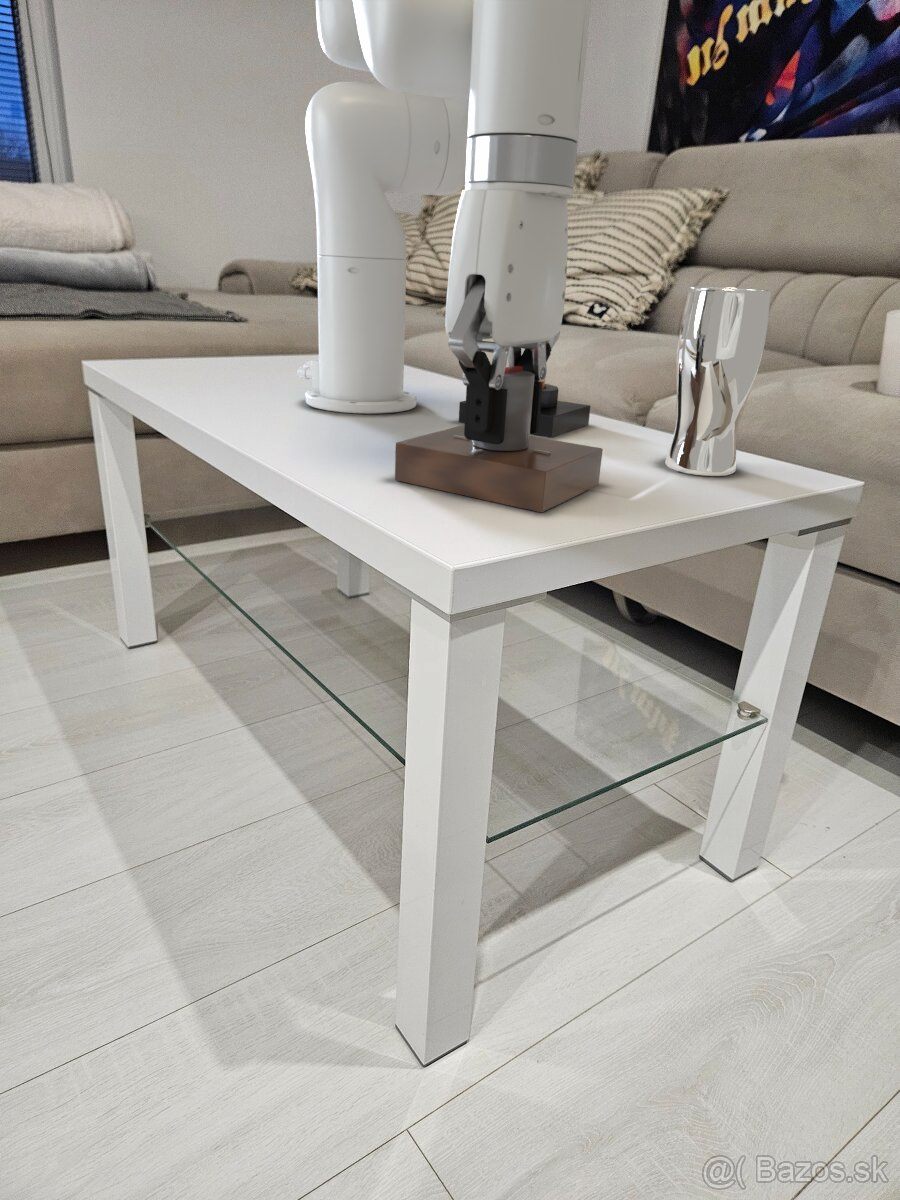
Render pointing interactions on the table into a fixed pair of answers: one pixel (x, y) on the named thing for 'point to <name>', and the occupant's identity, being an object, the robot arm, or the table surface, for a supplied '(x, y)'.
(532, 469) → the brown wooden base
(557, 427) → the button box
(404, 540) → the table surface
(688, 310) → the beer glass
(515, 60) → the robot arm
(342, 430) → the table surface
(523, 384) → the knob
